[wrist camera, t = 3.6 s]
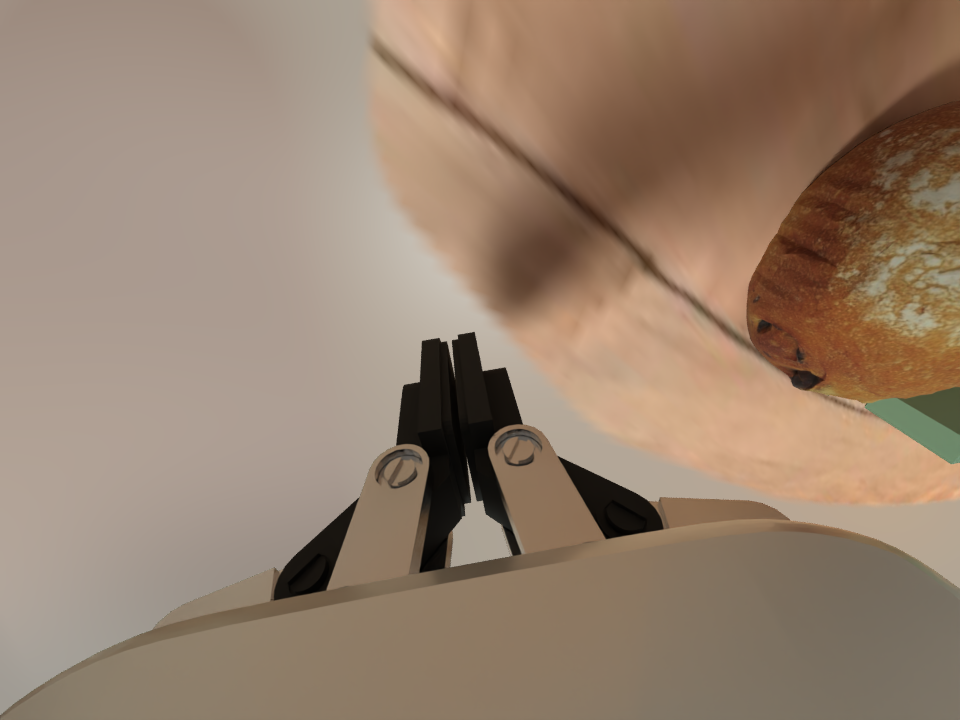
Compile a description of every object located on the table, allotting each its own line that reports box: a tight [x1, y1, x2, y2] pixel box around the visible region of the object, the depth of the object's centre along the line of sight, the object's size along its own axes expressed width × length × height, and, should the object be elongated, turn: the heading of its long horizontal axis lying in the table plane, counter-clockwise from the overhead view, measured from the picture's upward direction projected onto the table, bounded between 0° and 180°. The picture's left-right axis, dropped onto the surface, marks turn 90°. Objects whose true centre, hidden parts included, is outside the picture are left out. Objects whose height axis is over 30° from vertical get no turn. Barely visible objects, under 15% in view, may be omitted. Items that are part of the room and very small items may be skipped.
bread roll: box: [747, 101, 960, 403], centre depth 12 cm, size 10×10×8 cm
